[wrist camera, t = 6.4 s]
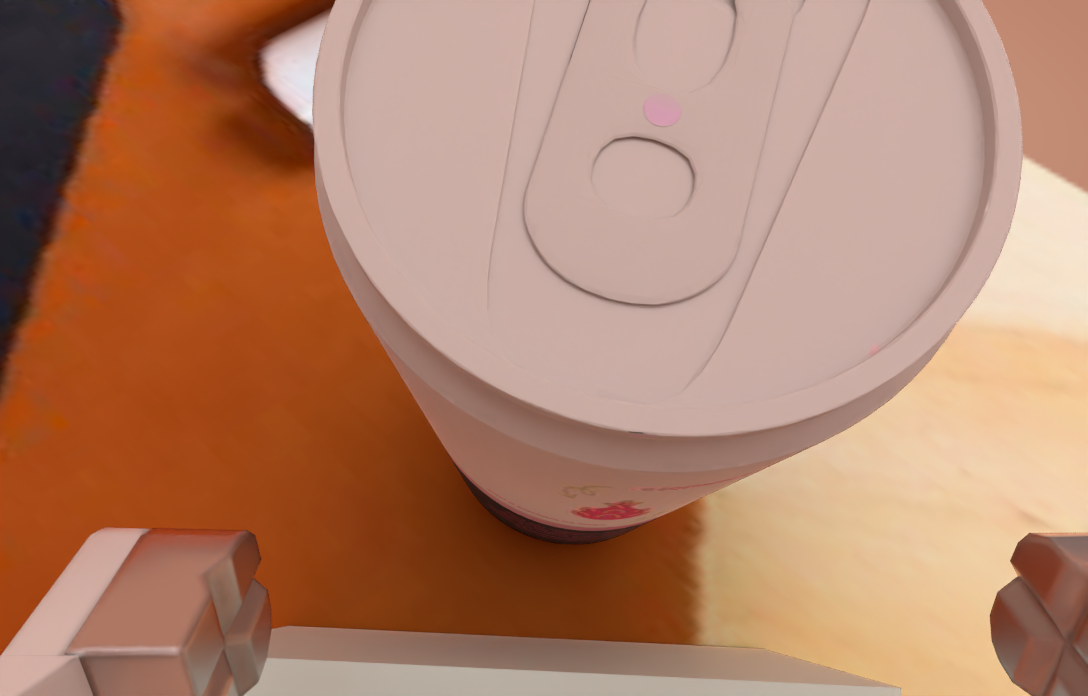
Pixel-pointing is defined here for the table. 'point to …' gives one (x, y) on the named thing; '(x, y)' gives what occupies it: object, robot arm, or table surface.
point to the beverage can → (658, 227)
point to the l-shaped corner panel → (533, 667)
